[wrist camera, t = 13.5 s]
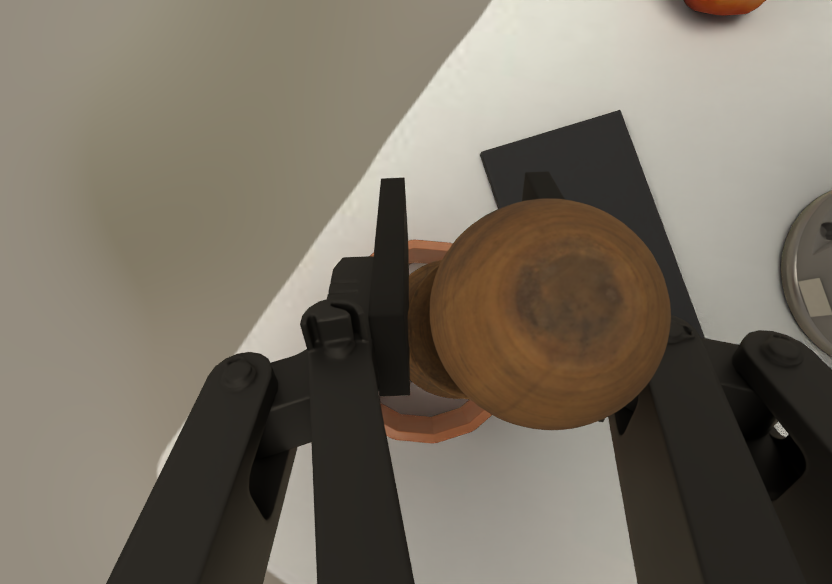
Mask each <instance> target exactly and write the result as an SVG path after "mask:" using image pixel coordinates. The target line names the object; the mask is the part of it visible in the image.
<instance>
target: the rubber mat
mask: <svg viewBox="0 0 832 584" xmlns="http://www.w3.org/2000/svg"><path fill="white" fill-rule="evenodd" d="M480 156H481V159H482V162H483V165H484V168H485V171H486V174H487V177H488V180H489V183H490V186H491V189H492V192H493V194H494V197H495V200H496V203H497V206H498V209H500V208H502V207H505V206H508V205H511V204H514V203H518V202H522V194H523V186H524V179H525V172H545V171H549V173H550V174H551V176H552V178H553V179H554V181H555V183H556V185H557V186H558V188H559V190H560V191H561V193H562V195H563V197H564V198H565V200H571V201H575V202H580V203H583V204H587V205H590V206H593V207H595V208H598V209H600V210H602V211H604V212H606V213H608V214H610V215H612V216H613V217H615V218H616V219H618V220H620V221H621V222H622V223H624V224H625V225H626V226H627V227H628V228H630V229H631V230H632V231H633V232H634V233H635V234H636V235H637V236H638V237H639V238H640V239H641V240H642V241H643V242H644V243H645V245H646V246H647V247H648V248H649V250H650V251H651V253H652V254H653V256H654V258H655V260H656V262H657V264H658V266H659V267H660V270H661V272H662V274H663V277H664V279H665V283H666V286H667V290H668V294H669V299H670V309H671V315H674V316H676V317H678V318H680V319H683V320H685V321H686V322H687V323H689V324H690V325H691V326H693V327H694V328H695V330H696V331H697V333H698V334H699V335H700V337H702V338H705V337H704V335H703V332H702V329H701V327H700V324H699V321H698V318H697V316H696V313H695V310H694V308H693V305H692V302H691V300H690V297H689V294H688V291H687V289H686V286H685V283H684V281H683V278H682V275H681V273H680V270H679V267H678V264H677V262H676V259H675V256H674V254H673V251H672V248H671V246H670V243H669V240H668V238H667V235H666V232H665V229H664V227H663V224H662V221H661V219H660V216H659V213H658V211H657V208H656V205H655V202H654V200H653V197H652V194H651V192H650V189H649V186H648V184H647V181H646V178H645V175H644V173H643V170H642V167H641V165H640V162H639V159H638V157H637V154H636V151H635V149H634V146H633V143H632V140H631V138H630V135H629V132H628V130H627V127H626V124H625V122H624V119H623V116H622V113H621V111H620V110H618V111H615V112H612V113H608V114H605V115H602V116H598V117H595V118H592V119H588V120H585V121H582V122H579V123H575V124H572V125H569V126H565V127H562V128H559V129H555V130H552V131H549V132H545V133H542V134H539V135H536V136H532V137H529V138H526V139H522V140H519V141H516V142H512V143H509V144H506V145H503V146H499V147H496V148H493V149H489V150H486V151H483V152H481V154H480Z"/></svg>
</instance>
